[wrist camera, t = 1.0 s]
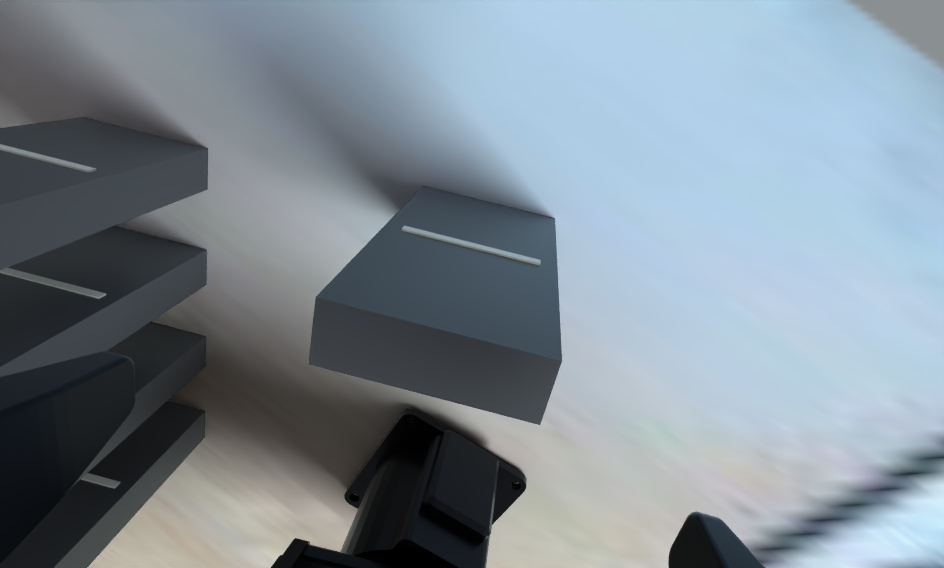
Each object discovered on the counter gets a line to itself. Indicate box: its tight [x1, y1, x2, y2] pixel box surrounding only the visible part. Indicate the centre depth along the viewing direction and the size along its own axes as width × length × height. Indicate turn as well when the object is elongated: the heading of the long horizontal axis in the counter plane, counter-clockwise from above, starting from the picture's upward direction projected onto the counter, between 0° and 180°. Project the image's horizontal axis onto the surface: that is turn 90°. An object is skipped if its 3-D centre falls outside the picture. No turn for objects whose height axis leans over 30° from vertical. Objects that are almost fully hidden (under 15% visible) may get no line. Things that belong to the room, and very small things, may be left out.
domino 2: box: [0, 226, 207, 377], centre depth 18 cm, size 2×5×10 cm, turn 78°
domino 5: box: [309, 186, 562, 425], centre depth 15 cm, size 2×5×10 cm, turn 78°
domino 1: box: [0, 117, 208, 270], centre depth 16 cm, size 2×5×10 cm, turn 77°
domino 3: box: [76, 322, 206, 483], centre depth 19 cm, size 2×5×10 cm, turn 78°
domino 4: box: [0, 401, 205, 568], centre depth 21 cm, size 2×5×10 cm, turn 77°
